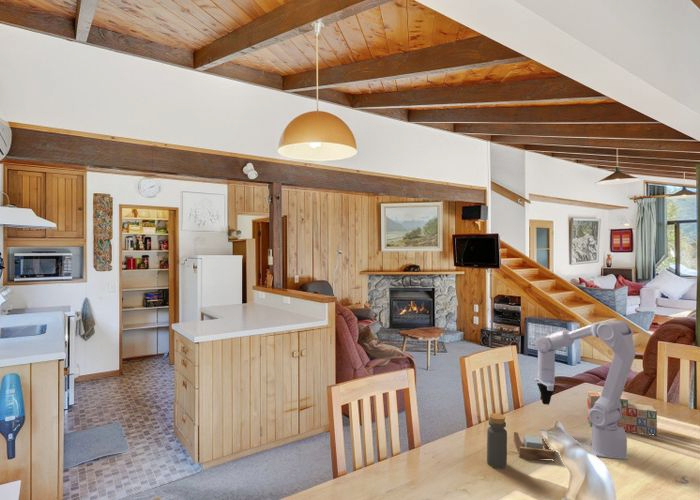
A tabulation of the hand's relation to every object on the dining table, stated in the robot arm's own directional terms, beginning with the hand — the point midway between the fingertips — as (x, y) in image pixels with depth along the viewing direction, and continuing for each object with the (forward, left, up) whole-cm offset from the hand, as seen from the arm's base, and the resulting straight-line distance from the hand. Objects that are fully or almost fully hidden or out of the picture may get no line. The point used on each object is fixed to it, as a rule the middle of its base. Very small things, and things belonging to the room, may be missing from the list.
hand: (545, 403), depth 157 cm
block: (+8, +20, -10) cm, 24 cm away
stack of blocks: (-28, -8, -10) cm, 31 cm away
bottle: (+21, +32, -10) cm, 39 cm away
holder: (+8, +19, -9) cm, 23 cm away
